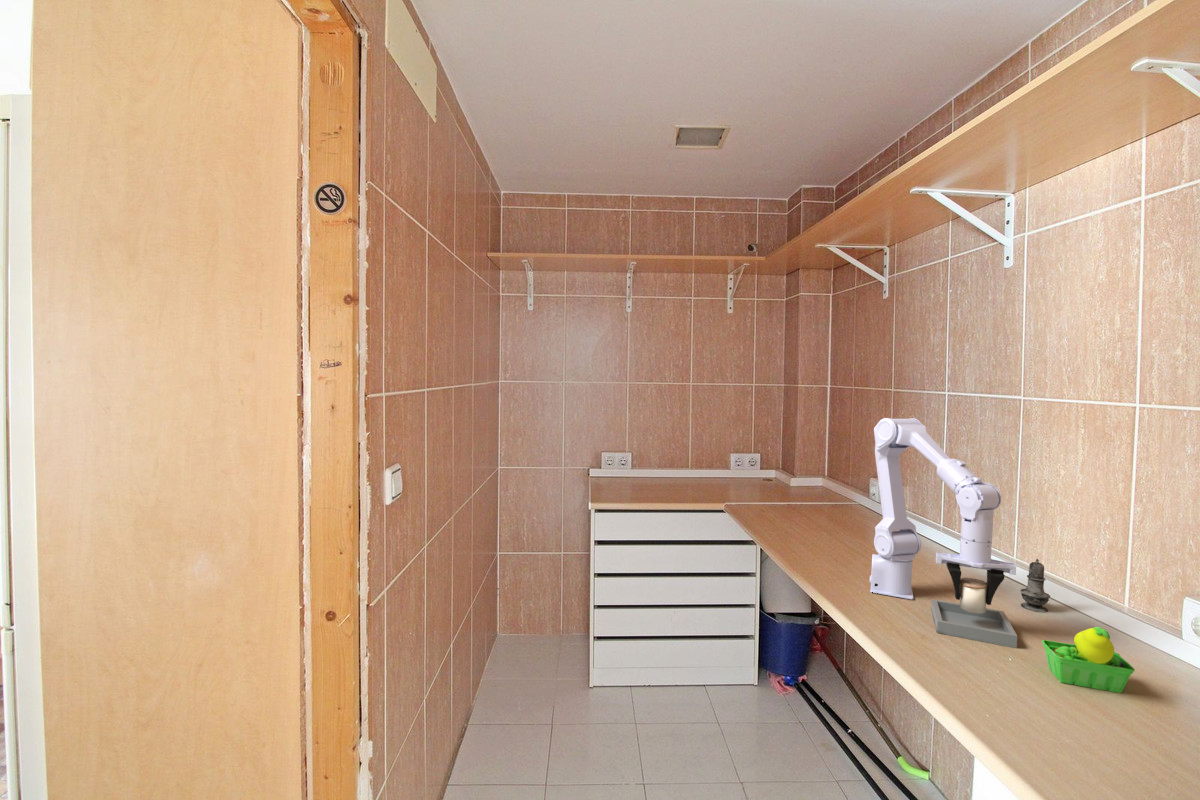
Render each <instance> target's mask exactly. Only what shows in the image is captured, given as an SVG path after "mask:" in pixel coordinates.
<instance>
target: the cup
mask: <svg viewBox="0 0 1200 800" xmlns="http://www.w3.org/2000/svg"><path fill="white" fill-rule="evenodd" d="M987 588H988V584H987V581H984V580H982V579H979V578H974V577H961V579H960V600H959V604H960V608H961V609H963V610H965V611H967V612H971V613H979V614H980V613H985V612H986V608H987V604H986V589H987Z"/></svg>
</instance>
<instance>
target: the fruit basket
mask: <svg viewBox="0 0 1200 800" xmlns="http://www.w3.org/2000/svg"><path fill="white" fill-rule="evenodd" d="M1110 639H1111V635H1110V633H1109V632H1108V630H1106V629H1104V628H1102V627H1099V626H1094V627H1091V628H1087V629H1085V630H1081V631H1079V632H1078V633H1076V634H1075V636H1074V637H1073V642H1074V644H1072V643H1066V642H1058V641H1052V640H1045V639H1043V640H1041V643H1042V647H1043V648H1044V651H1045V656H1046V661H1047V665H1048V669H1049V671H1050V672H1051V673H1052V674H1053V675H1054V677H1055V678H1056V679H1058V681H1059V682H1060V683H1063V684H1066V685H1068V684H1069V685H1074V686H1079V687H1083V688H1092V689H1094V690H1095V689H1096V690H1101V691H1109V692H1113V693H1119V694H1121V693H1122V692H1123V690H1124V689H1125V687H1126V685H1127V683H1128V681H1129V679H1130V677H1131V675H1133V673H1134V672H1135V668H1134V667H1133V666H1132V665H1131V664H1130V663H1129V662H1128V661H1127V660H1126V659H1124V658H1123V657H1122V656H1121V655H1120V654H1118V652H1116V651H1115V647H1114V644H1113V642H1112V641H1111V640H1110Z"/></svg>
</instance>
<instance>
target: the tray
mask: <svg viewBox="0 0 1200 800" xmlns="http://www.w3.org/2000/svg"><path fill="white" fill-rule="evenodd" d="M930 607H931V609H930V610H931V613H932V617H933V618H932V619H933V623H934V628H935V630H936V634H941V635H946V636H951V637H958V638H963V639H968V640H972V641H977V642H983V643H987V644H991V645H992V644H993V645H996V646H997V645H999V646H1003V647H1007V648H1013V649H1017V647H1018V635H1017V633H1016V630H1014V628H1013V626H1012V623H1011V622H1010V620H1009V619H1008V617H1007V615H1006V613H1005V611H1004V610H999V609H993V608H987V607H986V612H985V613H980V614H979V613H971V612H967V611H965V610H963V609H961V608H960V603H956V602H951V601H946V600H941V599H934V598H932V599H931V606H930Z"/></svg>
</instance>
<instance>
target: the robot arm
mask: <svg viewBox="0 0 1200 800" xmlns="http://www.w3.org/2000/svg"><path fill="white" fill-rule="evenodd" d="M873 433H874V434H873V435H874V441H875V442H874V443H875V444H874V445H875V446H874V456H875V457H874V458H875V465H876V471H877V480H878V489H879V497H880V507H881V512H882V519H881V520H880V521H879V522H878V524H876V526H874V530H875V532H874V533H875V535H874V538H873V545H874V549H875V551H876V552H877V554H875V553H872V555H871V570H870V571H871V573H870V574H871V575H869V580H868V582H869V583H870V593H872V592H873V594H877V593H878V595H885V596H890V597H894V598H895V597H897V598H901V599H906V600H914V595H913V588H912V579H913V577H912V576H913V560H915V559H916V555H917V554H919V552H920V551H921V549H922V543H921V542H922V541H921V539H920V537H919V534H918V532H917V527H916V525H915V524H914V523H913V522H912V521H910V519H908V517H907V509H906V501H905V492H904V486H903V485H904V484H903V477H902V470H901V463H900V456H901V455H902V453H904V452H905V451H906V450H907V449H909V448H910V447H913V448H915V450H917V451H918V452H919V453H920V454H921V455H922V456H924V458H926V459H927V460H928V461H929V462H930V463H931V464H933V465H934V466H935V467H936V475H937V477H939V479H940V480H941V481H942V482H943V483H944V484H945V485H946V486H948V488H949V489H950V490H951V491H952V492H953V493H954V494H955V500H956V503H957V505H958V507H959V514H960V517H961V521H960V522H961V525H960V540H959V542H960V543H959V554H958V553H942V552H935V563H936V564H938V565H943V564H945V566H946V568H947V570H948V572H949V573H948V574H950V578H951V581H952V585H953V590H954V598H955V599H956V600H958V601H960V579H961V578H962V570H961V567H965V568H972V569H977V570H978V569H979V570H984V571H985V570H986V583H987V584H988V588H986V606H991V605H992V601H993V599H994V596H995V594H996V591H997V590H998V588H999V587H1000V585H1001V584H1002V582H1004V579H1005V578H1006V577H1005V576H1006V575H1005V574H1009V575H1014V576H1015V575H1017V564H1015V563H1012V562H1008V561H1003V560H996V559H992V546H993V544H992V543H993V531H994V530H993V529H994V528H993V527H994V514H995V513H994V512H995V510H996V509H998V507H1000V505H1001V502H1002V496H1001V493H1000V491H999V489H997V487H996V485H994V484H992V483H991V482H990V483H989V482H985V481H983V480H982V478H980V477H979V476H976V475H977V474H976V475H975V473H974V472H973V471H972V470H970V469H969V467H967V466H966V465H967V463H966V462H965V461H964V460H960V459H959V458H951V457H949V455H948V454H947V453H946V452H945V451H944V449H942V447H940V446H939V444H938V443H937V442H936V441H935V440H934V439H933V437H932V436H931V435H930V434H929V433H928V428H927V427H926V425H924V424H922V422H921V420H919V419H918V418H914V417H912V418H890V417H884V418H881V419H880V420H879V421H878V422H877V424H876V425H875V426H874V428H873ZM1004 573H1005V574H1004Z"/></svg>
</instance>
